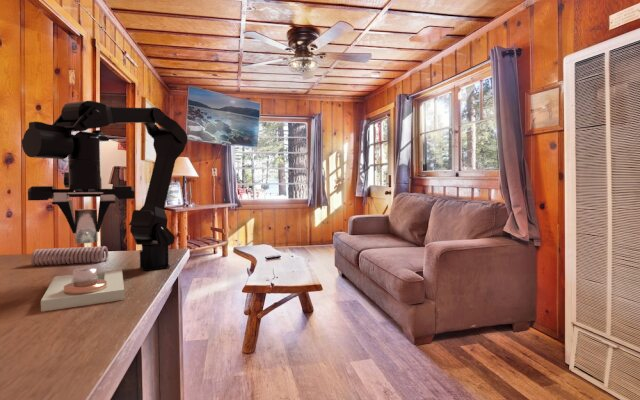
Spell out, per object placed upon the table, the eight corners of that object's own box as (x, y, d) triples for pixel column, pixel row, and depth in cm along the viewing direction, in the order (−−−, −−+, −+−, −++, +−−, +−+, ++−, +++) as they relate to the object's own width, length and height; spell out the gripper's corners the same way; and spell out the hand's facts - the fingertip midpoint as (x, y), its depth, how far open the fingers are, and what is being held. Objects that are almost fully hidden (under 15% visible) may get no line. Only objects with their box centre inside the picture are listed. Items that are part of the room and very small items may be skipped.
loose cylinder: (98, 239, 80) (97, 208, 79) (97, 242, 76) (96, 210, 76) (76, 241, 78) (75, 209, 77) (74, 243, 74) (73, 210, 74)
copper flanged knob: (106, 282, 74) (106, 263, 74) (106, 291, 68) (105, 270, 68) (66, 287, 71) (65, 267, 70) (61, 297, 65) (61, 275, 64)
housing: (122, 277, 85) (121, 269, 85) (124, 299, 69) (124, 289, 69) (55, 285, 78) (54, 276, 78) (41, 311, 63) (40, 300, 63)
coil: (28, 252, 94) (104, 248, 99) (36, 247, 98) (109, 244, 104) (30, 268, 95) (105, 264, 100) (38, 263, 99) (110, 259, 104)
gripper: (132, 163, 87) (133, 225, 88) (37, 160, 78) (39, 230, 79) (133, 161, 78) (135, 231, 79) (25, 158, 69) (28, 237, 69)
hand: (86, 232), depth 77 cm, fingers closed on loose cylinder, 4 cm apart
